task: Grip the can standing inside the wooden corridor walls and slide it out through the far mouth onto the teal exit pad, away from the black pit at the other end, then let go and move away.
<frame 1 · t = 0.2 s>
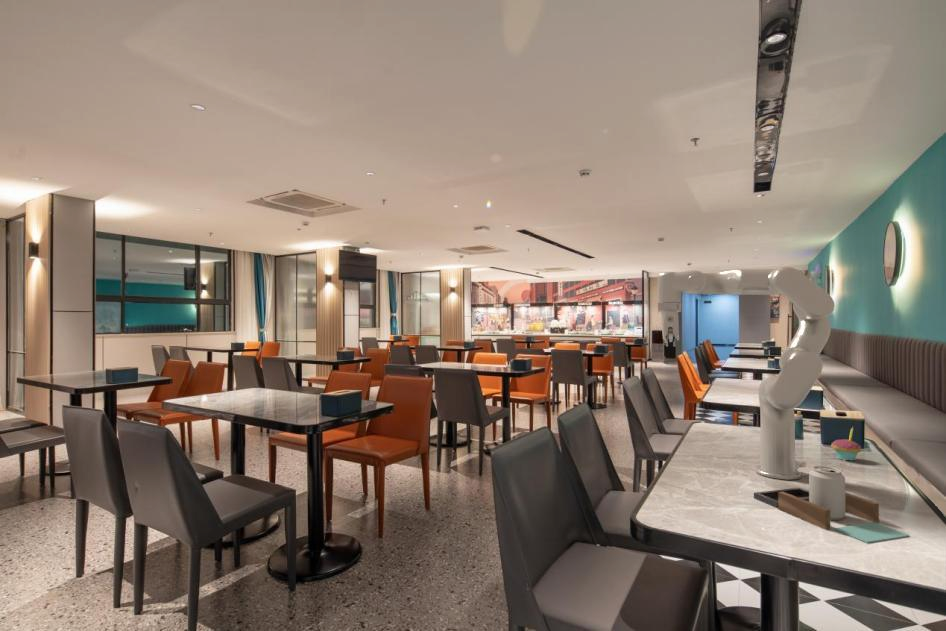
hand: (669, 357, 170), 37 cm above the table, tool pointing down, fingers open, 9 cm apart
exit pad: (871, 532, 115), on the table
wooden corridor walls: (827, 515, 126), on the table
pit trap: (788, 500, 136), on the table
cupcake: (846, 460, 176), on the table
can: (827, 516, 126), on the table
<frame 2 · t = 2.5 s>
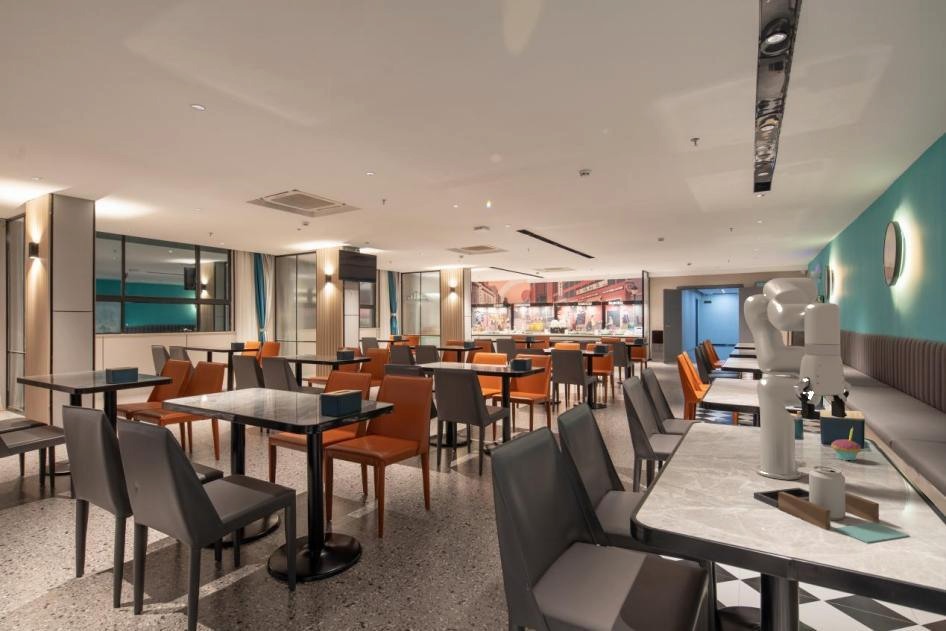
hand: (823, 417, 126), 25 cm above the table, tool pointing down, fingers open, 9 cm apart
nothing on the table moved.
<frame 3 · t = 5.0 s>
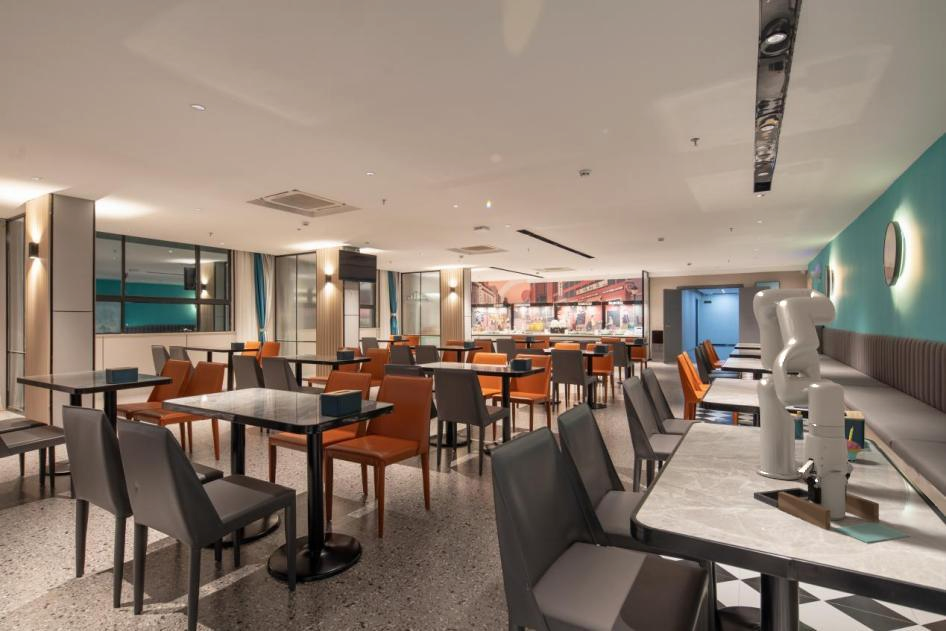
hand: (827, 499, 126), 4 cm above the table, tool pointing down, fingers closed on can, 7 cm apart
can: (827, 516, 126), on the table, touching gripper
everything else where it was.
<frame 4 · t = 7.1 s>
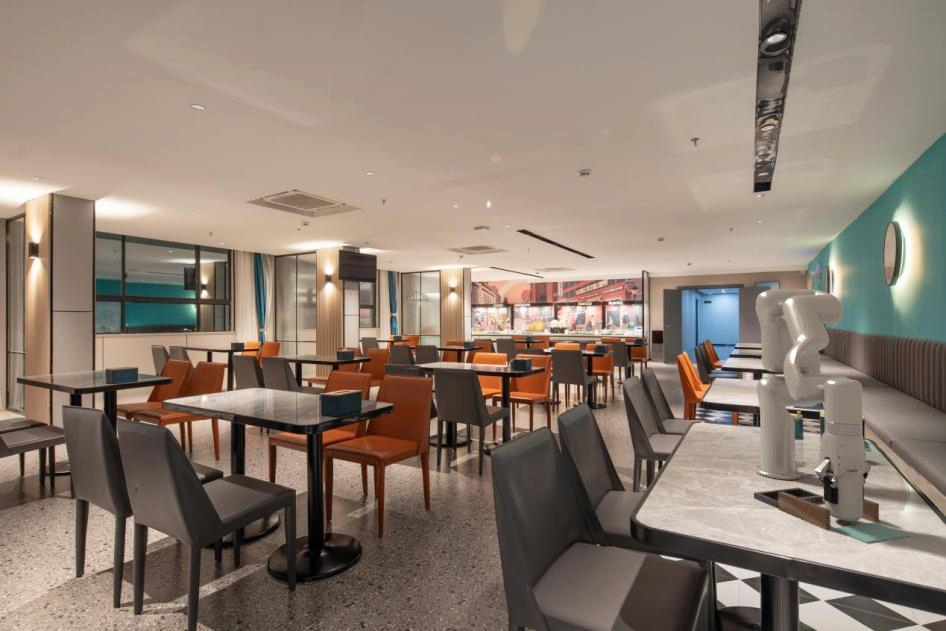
hand: (843, 500, 121), 5 cm above the table, tool pointing down, fingers closed on can, 7 cm apart
can: (843, 517, 121), point 1 cm above the table, touching gripper
everything else where it was.
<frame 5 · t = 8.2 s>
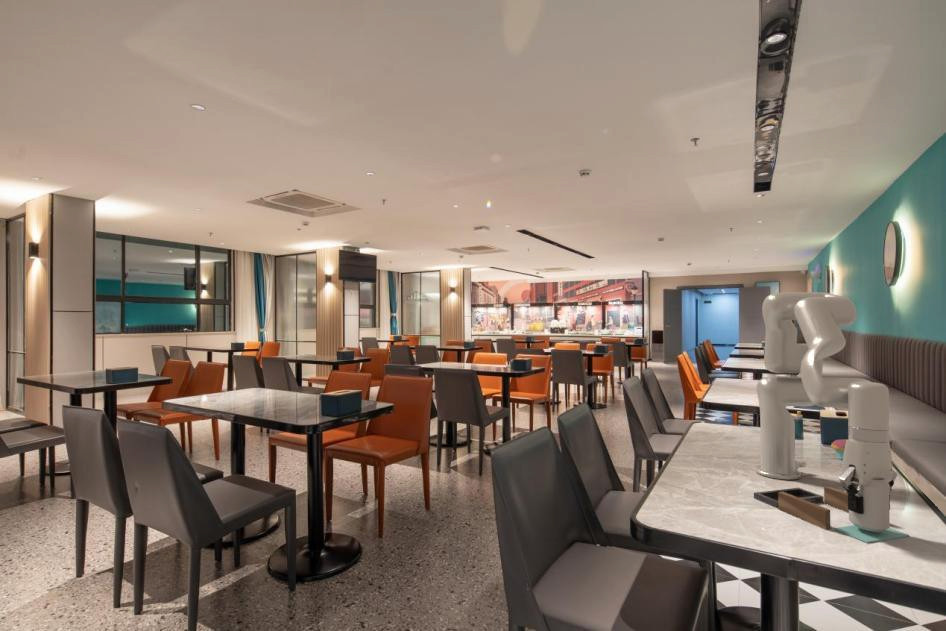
hand: (868, 509, 116), 5 cm above the table, tool pointing down, fingers closed on can, 7 cm apart
can: (868, 527, 116), point 1 cm above the table, touching gripper
everything else where it was.
when the fingers open (4 cm above the table, at t = 9.1 s): can stays where it is, resting on exit pad.
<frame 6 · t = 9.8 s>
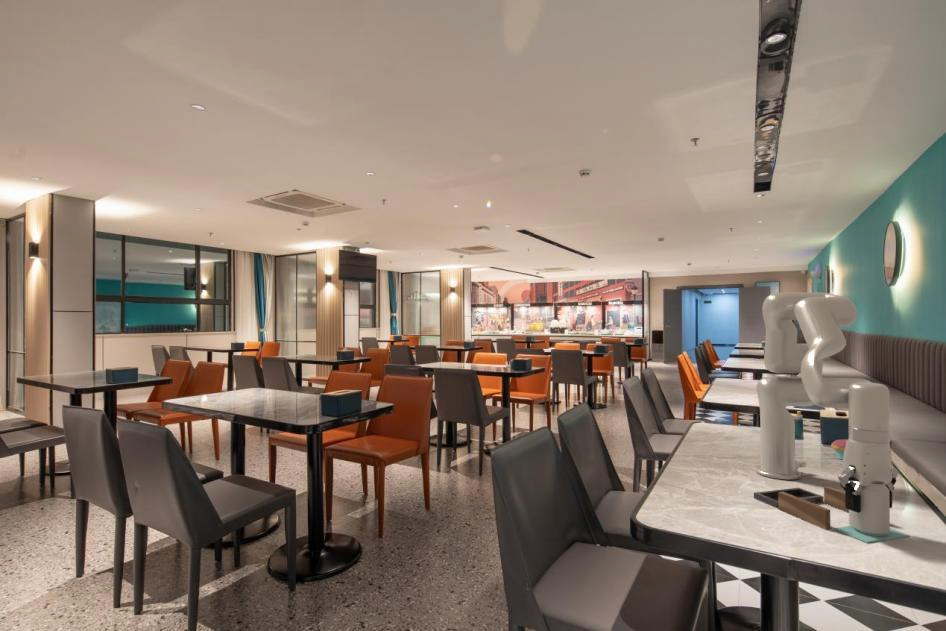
hand: (868, 508, 116), 6 cm above the table, tool pointing down, fingers open, 9 cm apart
can: (869, 531, 116), resting on exit pad
everything else where it was.
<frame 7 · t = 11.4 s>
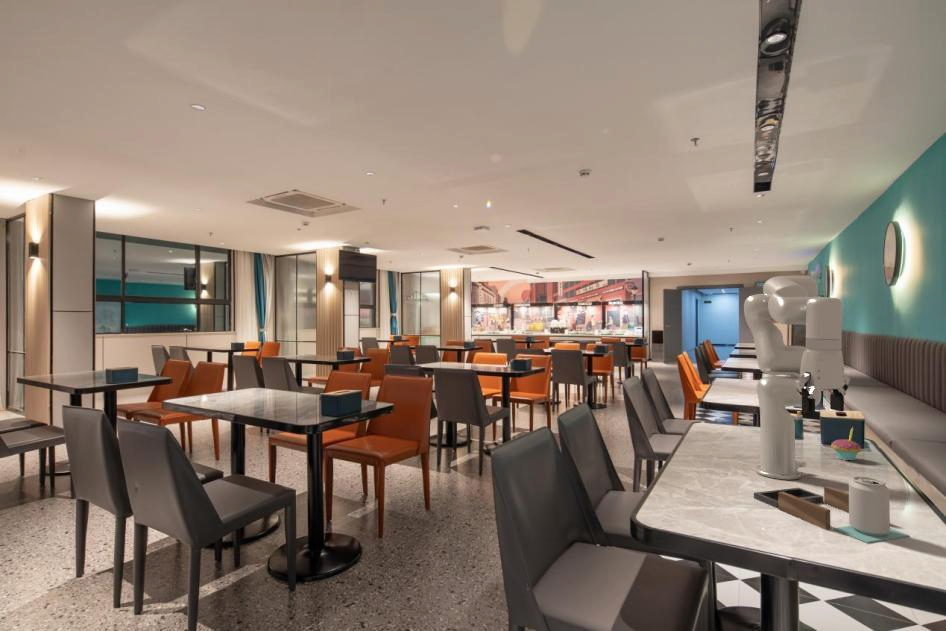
hand: (822, 411, 127), 26 cm above the table, tool pointing down, fingers open, 9 cm apart
nothing on the table moved.
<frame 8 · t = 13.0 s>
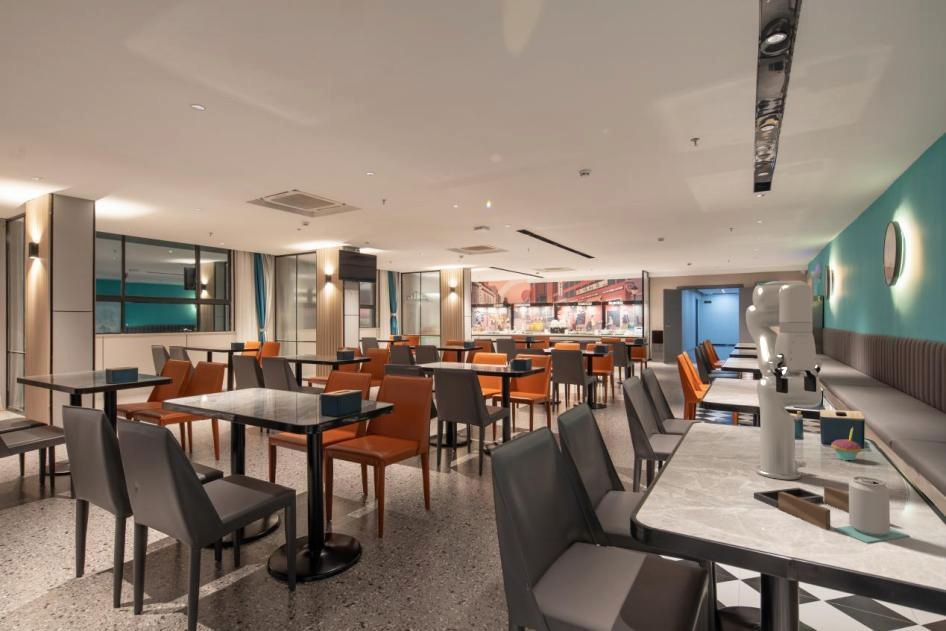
hand: (796, 391, 134), 30 cm above the table, tool pointing down, fingers open, 9 cm apart
nothing on the table moved.
at the end: can inside the target area (0.7 cm from its centre), resting on exit pad; can tilted 0°; the gripper is holding nothing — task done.
